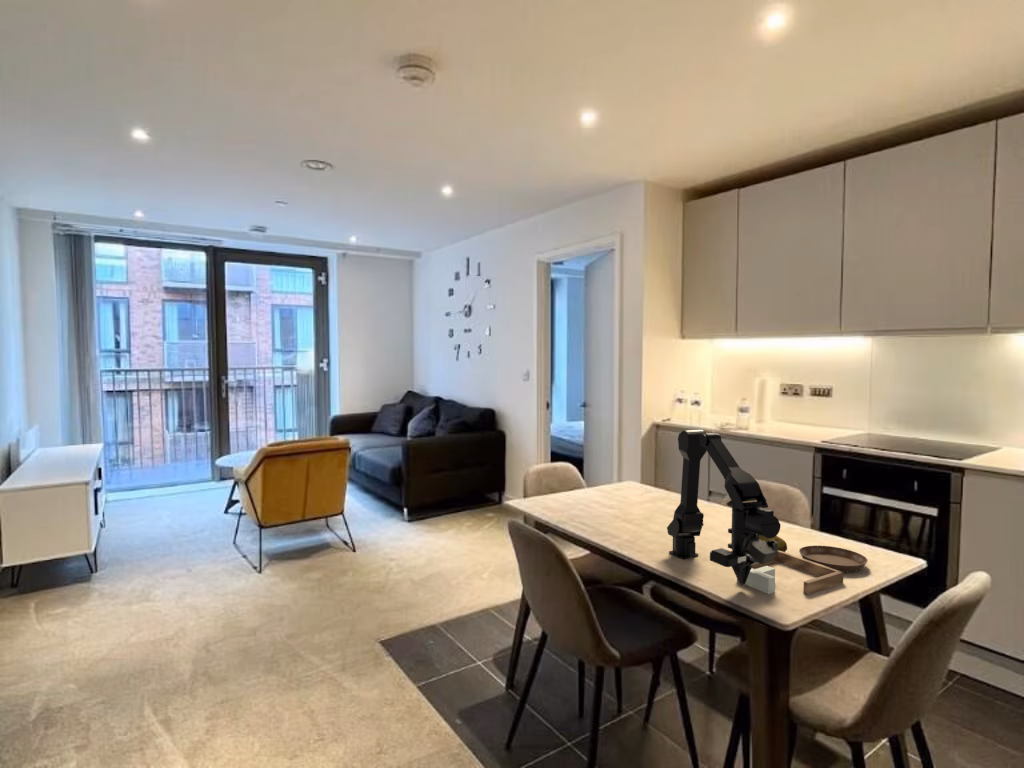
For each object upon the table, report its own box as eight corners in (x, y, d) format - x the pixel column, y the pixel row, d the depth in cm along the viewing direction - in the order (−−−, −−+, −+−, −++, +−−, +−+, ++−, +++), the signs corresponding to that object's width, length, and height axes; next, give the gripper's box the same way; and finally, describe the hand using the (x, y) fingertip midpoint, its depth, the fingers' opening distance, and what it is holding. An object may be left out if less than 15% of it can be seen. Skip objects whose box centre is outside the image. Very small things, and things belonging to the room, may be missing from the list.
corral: (742, 568, 166) (742, 558, 166) (777, 559, 173) (777, 549, 173) (807, 594, 148) (807, 583, 148) (843, 583, 155) (843, 572, 155)
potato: (776, 560, 172) (777, 534, 172) (737, 548, 183) (737, 524, 182) (789, 554, 178) (790, 528, 177) (750, 543, 188) (751, 519, 187)
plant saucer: (806, 550, 182) (806, 540, 182) (871, 562, 171) (871, 552, 170) (792, 566, 168) (792, 556, 168) (862, 581, 157) (862, 570, 157)
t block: (736, 580, 157) (737, 566, 157) (755, 575, 161) (755, 561, 161) (768, 594, 148) (768, 579, 148) (787, 588, 152) (787, 573, 152)
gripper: (744, 541, 139) (742, 603, 140) (793, 529, 147) (792, 588, 148) (708, 528, 148) (707, 587, 149) (757, 518, 157) (756, 573, 158)
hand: (742, 584), depth 151 cm, fingers closed
